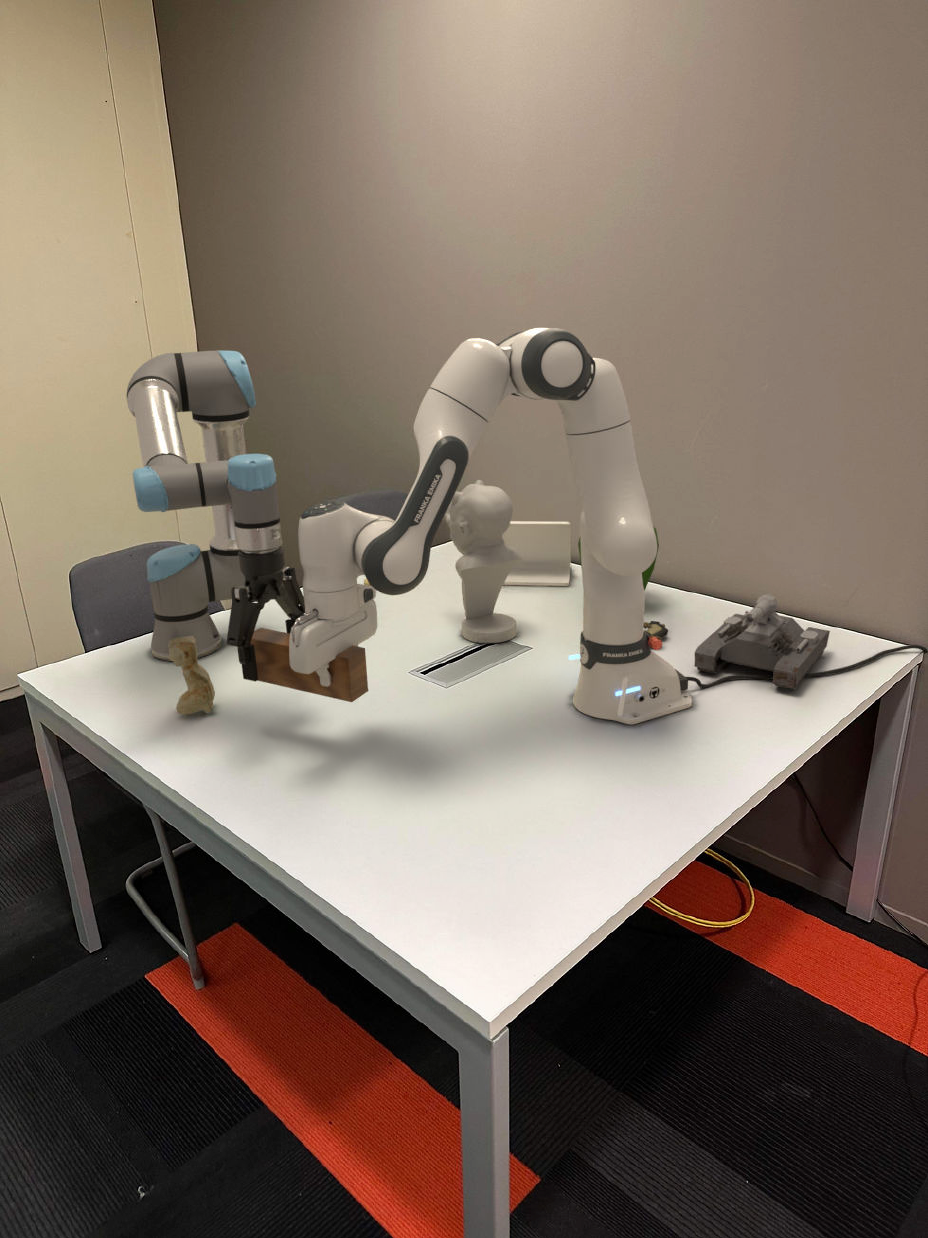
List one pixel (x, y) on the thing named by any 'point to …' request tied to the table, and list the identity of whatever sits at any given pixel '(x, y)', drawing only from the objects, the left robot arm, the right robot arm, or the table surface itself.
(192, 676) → the sculpture
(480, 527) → the bust sculpture
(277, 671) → the bar
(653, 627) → the spray gun
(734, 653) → the toy
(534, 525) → the tablet stand
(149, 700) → the table surface
